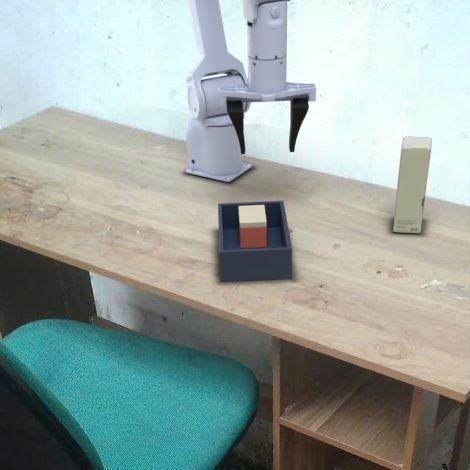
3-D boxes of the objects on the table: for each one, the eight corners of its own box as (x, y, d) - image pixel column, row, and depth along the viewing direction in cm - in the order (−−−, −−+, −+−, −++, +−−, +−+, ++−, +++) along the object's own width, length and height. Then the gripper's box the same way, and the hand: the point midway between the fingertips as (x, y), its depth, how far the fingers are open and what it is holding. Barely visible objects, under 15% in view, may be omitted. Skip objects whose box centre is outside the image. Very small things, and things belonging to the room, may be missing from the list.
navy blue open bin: (219, 231, 126) (217, 203, 123) (283, 228, 126) (283, 200, 123) (220, 282, 115) (219, 251, 111) (291, 278, 115) (291, 248, 111)
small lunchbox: (239, 230, 125) (238, 205, 122) (264, 229, 125) (264, 204, 122) (240, 248, 121) (239, 222, 118) (266, 247, 120) (266, 221, 118)
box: (420, 234, 123) (432, 149, 114) (391, 233, 124) (401, 148, 115) (421, 220, 127) (433, 135, 118) (393, 218, 127) (403, 134, 118)
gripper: (217, 64, 113) (221, 162, 122) (319, 60, 113) (315, 158, 122) (217, 50, 118) (221, 145, 127) (314, 46, 118) (311, 141, 127)
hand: (267, 150), depth 125 cm, fingers open, 7 cm apart
